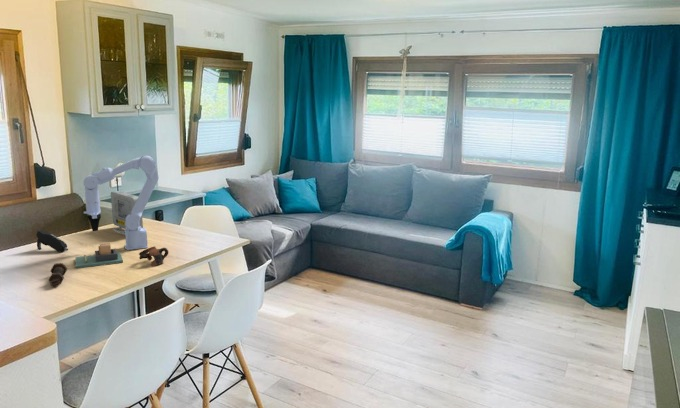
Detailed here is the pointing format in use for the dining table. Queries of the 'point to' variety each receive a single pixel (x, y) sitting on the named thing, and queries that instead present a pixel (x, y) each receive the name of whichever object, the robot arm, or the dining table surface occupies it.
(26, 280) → the dining table surface
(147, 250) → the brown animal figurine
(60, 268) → the bolt
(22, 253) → the dining table surface
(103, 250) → the plug
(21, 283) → the dining table surface
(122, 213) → the network device
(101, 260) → the header board
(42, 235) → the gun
